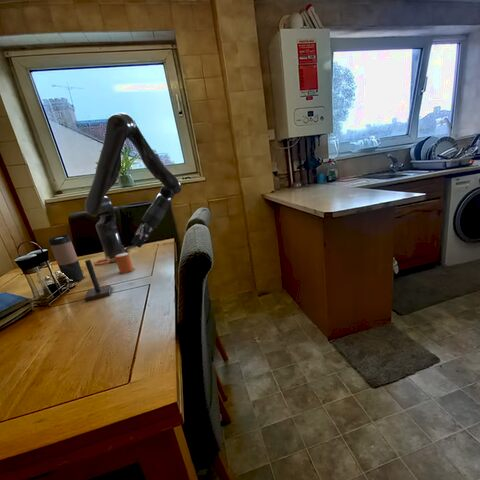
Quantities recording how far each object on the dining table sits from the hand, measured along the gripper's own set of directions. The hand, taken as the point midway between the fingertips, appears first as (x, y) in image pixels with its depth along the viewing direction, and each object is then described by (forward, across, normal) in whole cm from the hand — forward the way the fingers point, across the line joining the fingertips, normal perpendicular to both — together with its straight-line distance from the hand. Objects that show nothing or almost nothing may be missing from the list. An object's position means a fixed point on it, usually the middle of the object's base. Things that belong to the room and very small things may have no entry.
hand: (135, 245), depth 129 cm
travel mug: (+27, -9, -11) cm, 31 cm away
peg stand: (+22, +19, -7) cm, 30 cm away
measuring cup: (+15, 0, 0) cm, 15 cm away
